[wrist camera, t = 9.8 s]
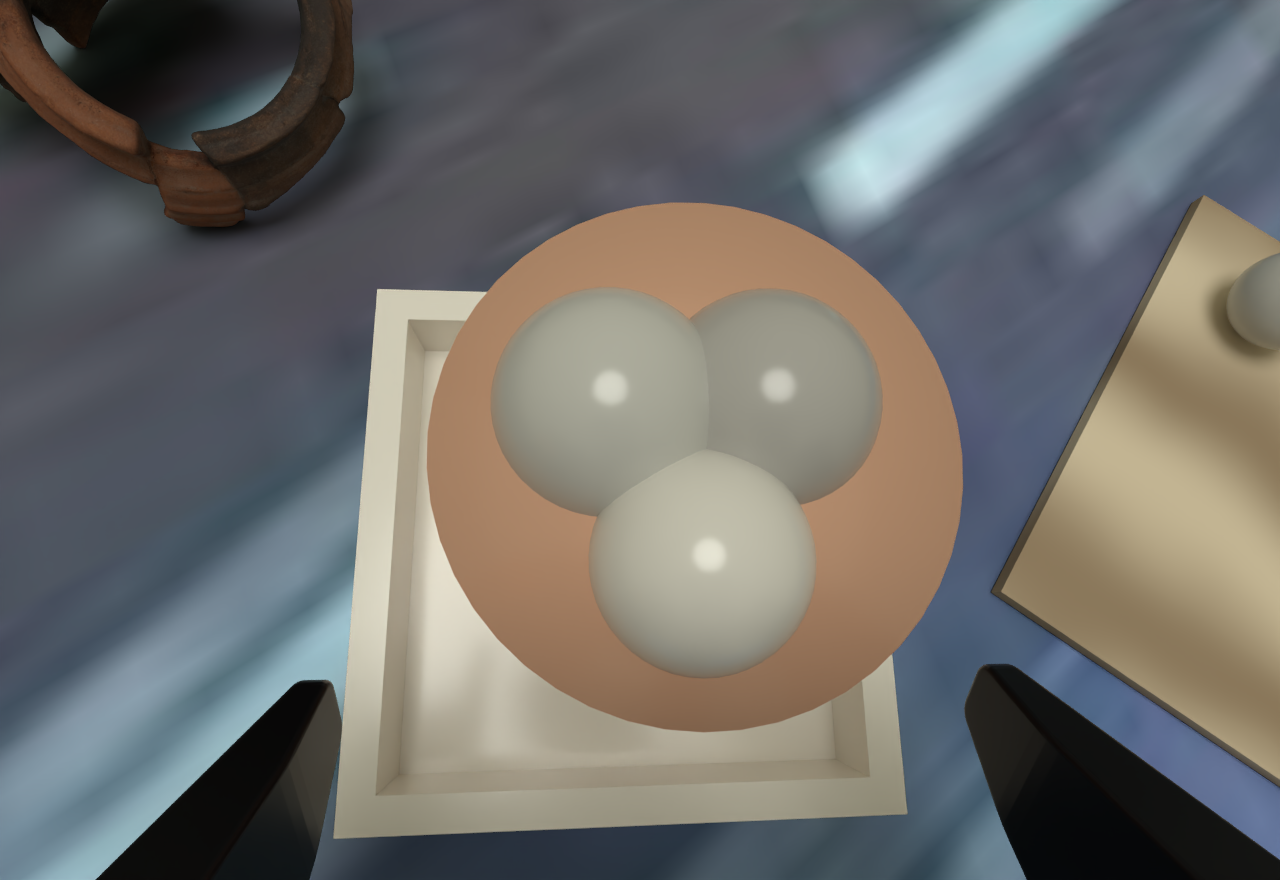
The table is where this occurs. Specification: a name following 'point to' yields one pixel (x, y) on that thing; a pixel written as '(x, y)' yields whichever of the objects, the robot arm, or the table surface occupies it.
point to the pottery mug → (231, 156)
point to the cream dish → (536, 677)
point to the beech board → (1174, 505)
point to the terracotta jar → (694, 467)
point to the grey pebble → (1257, 303)
